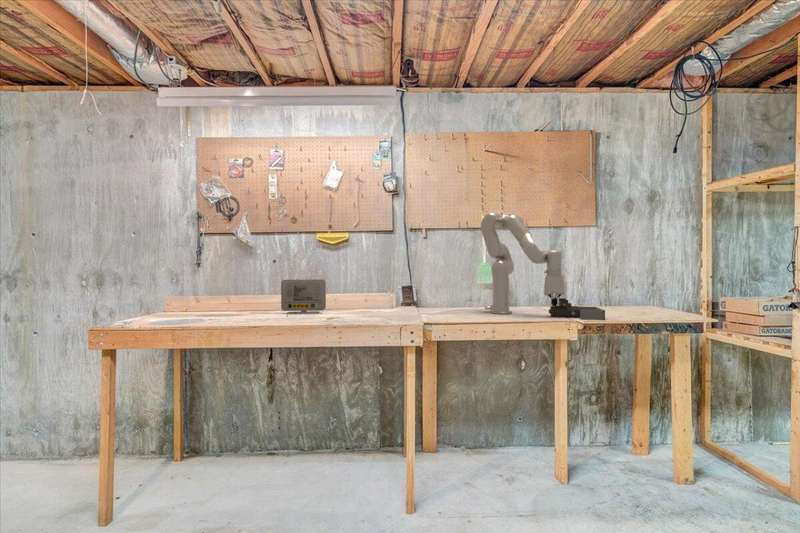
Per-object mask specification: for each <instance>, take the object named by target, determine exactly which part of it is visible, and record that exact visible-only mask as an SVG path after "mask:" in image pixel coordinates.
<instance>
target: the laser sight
mask: <svg viewBox="0 0 800 533" xmlns="http://www.w3.org/2000/svg"><path fill="white" fill-rule="evenodd" d="M593 307H594V306H578V305H572V303H571V302H569V300H568V299H567V298H562V297H559V298H558V305H556V306H553V305H550V307H549V308H550V309H548V314H549V315H550V317H551V318H552V317H555V318H574V319H575V318H576V319H578V318H580V310H594V309H593Z"/></svg>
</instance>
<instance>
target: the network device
mask: <svg viewBox="0 0 800 533" xmlns="http://www.w3.org/2000/svg"><path fill="white" fill-rule="evenodd" d="M326 284H327V281H326V280H325V279H282V280H281V282H280V295H281V296H280V304H281V305H280V307H281V308H280V309H281V311H283V312H286V315H319V314H321V311H325V310H326V307H327V306H326V305H327V302H326V301H327V298H326V296H327V294H326V293H327V292H326V291H327V288H326V287H327V285H326ZM287 311H288V312H287Z"/></svg>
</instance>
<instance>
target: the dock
mask: <svg viewBox="0 0 800 533" xmlns="http://www.w3.org/2000/svg"><path fill="white" fill-rule="evenodd" d="M592 307H593V309H594V310H580V317H579V319H580V320H590V321H591V320H593V321H594V320H595V321H596V320H599V321H605V320H606V310H605V309H603V308H601V307H598V306H592Z"/></svg>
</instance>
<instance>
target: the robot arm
mask: <svg viewBox="0 0 800 533" xmlns="http://www.w3.org/2000/svg"><path fill="white" fill-rule="evenodd" d="M496 229H505V230H509V231H510V233H511V234H512V236H513V237H514V238H515V239H516V241H517V242H518V244H519V246H520V248H521V250H522V252H523V253H524V254H525V256H526V257H527V259H528V260H530V262H531V263H532V264H537V265H542V264H546V270H543V272H544V274H546V275H545V277H544V285H543V286H544V292H543V295H545V296H548V298H550V299H551V302H550V303H551V306H558V300H559V298H561V297H562V296H565V295H566V294H565V293H566V292H565V290H566V289H565V280H564V274H562V251H561V250H558V249H557V250H555V249H554V250H541V249H539V247H538V246H537V244H536V243H535V241H534V240H533V236H532V235H533V234H532V232H530V230H529V229H528V228H527V226H526V225H525V223H524V219H523V217H521V216H520V215H515V214H509V215H508V214H501V213H498V212H492V211H491V212H489V213H487V214H485V215H484V216H483V217H482V220H481V222H480V231H481V234H482V237H483V240H484V244H485V247H486V250H487V253H488V255H489V257H491V258H492V259H495V261H494V262H493V263H492V265H491V276H492V305H490V306H489V305H484V309H485V310H489V313H490V314H495V315H496V314H498V315H510V314H513V311H512V310H510V278H509V277H510V276H509V275H511V274H512V273H513V272H514V270H515V265H514V264H515V263H514V261H513V258H512V256H511V252H510V251H509V248H508V246H507V245H506V244H505V243H502V242H501V240H500V237H499V234H498V232H497V230H496ZM554 294H555V295H554Z"/></svg>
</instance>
